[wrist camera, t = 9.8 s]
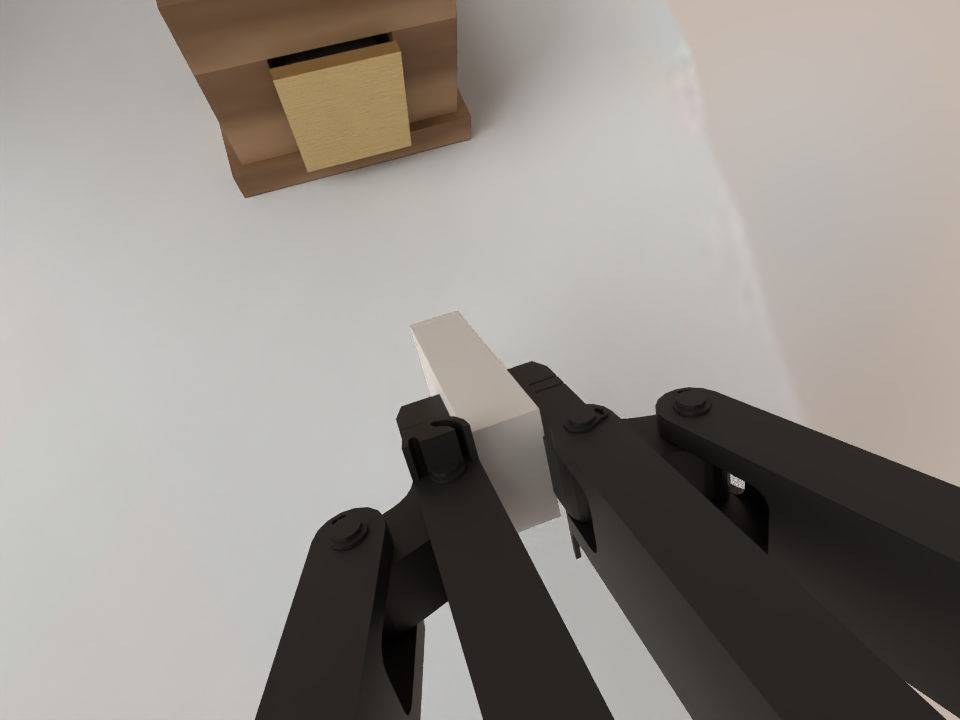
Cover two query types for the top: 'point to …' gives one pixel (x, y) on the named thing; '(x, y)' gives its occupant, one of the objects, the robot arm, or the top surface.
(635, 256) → the top surface
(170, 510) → the top surface
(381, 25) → the bearing block
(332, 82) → the shaft
